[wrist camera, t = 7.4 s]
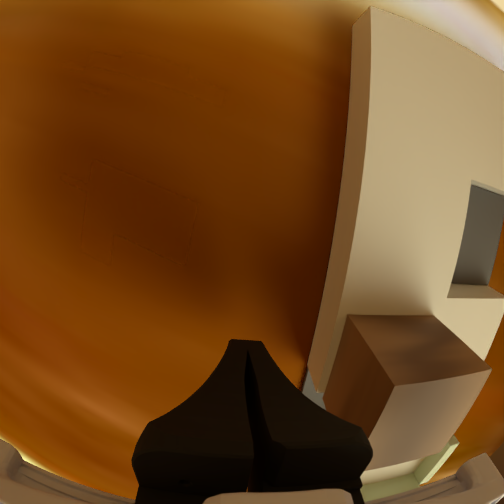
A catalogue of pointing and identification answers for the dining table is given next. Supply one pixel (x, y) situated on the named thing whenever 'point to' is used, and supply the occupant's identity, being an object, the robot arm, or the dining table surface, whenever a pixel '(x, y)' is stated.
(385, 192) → the board
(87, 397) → the dining table surface
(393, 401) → the walnut block
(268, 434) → the robot arm
